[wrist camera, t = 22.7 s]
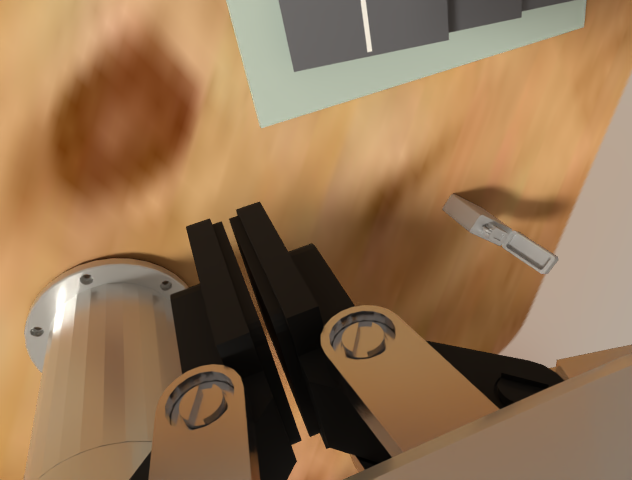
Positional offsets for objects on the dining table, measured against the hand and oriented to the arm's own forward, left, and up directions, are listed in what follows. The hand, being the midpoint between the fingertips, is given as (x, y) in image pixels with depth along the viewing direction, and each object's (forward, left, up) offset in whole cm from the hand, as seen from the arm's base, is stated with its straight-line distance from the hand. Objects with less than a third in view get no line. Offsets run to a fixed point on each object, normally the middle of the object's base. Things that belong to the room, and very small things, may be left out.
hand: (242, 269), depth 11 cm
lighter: (-20, -22, -25) cm, 39 cm away
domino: (0, -8, -24) cm, 25 cm away
